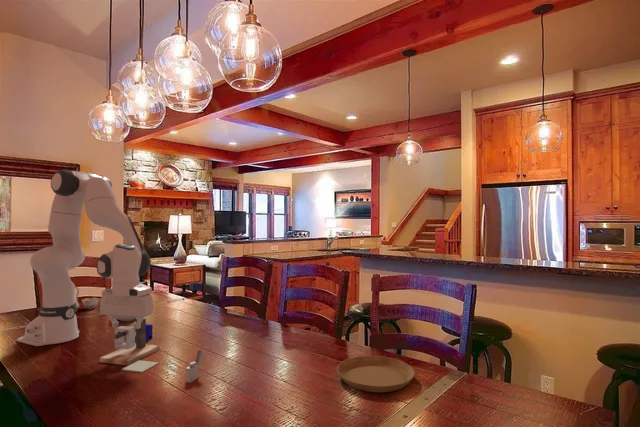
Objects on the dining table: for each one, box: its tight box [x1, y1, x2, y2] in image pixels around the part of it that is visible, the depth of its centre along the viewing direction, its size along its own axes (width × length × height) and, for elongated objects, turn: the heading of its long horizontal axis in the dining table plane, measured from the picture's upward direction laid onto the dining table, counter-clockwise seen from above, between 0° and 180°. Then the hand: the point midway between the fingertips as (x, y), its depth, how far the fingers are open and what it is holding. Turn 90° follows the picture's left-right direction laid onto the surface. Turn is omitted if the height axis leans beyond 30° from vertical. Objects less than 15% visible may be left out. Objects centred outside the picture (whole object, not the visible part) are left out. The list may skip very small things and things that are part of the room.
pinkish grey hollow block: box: [114, 325, 136, 349], centre depth 134 cm, size 6×3×7 cm, turn 76°
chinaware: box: [75, 286, 101, 313], centre depth 201 cm, size 28×17×17 cm, turn 179°
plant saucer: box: [336, 355, 415, 393], centre depth 117 cm, size 24×24×3 cm
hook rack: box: [99, 318, 161, 366], centre depth 137 cm, size 12×16×12 cm
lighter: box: [185, 349, 206, 383], centre depth 118 cm, size 7×2×8 cm, turn 162°
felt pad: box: [121, 359, 159, 374], centre depth 126 cm, size 8×8×1 cm
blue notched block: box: [124, 323, 154, 343], centre depth 152 cm, size 12×4×6 cm, turn 167°
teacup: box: [116, 315, 137, 322], centre depth 186 cm, size 14×11×8 cm
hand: (126, 327), depth 134 cm, fingers open, 8 cm apart
